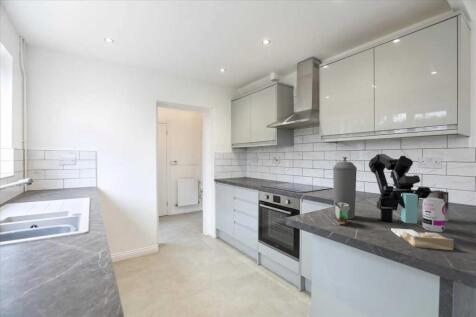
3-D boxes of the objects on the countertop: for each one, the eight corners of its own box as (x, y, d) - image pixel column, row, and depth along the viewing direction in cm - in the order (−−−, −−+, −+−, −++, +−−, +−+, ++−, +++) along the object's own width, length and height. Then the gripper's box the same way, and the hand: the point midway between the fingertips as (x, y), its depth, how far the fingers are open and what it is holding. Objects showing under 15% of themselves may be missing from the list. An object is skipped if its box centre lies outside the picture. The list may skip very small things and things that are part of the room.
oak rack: (402, 237, 101) (403, 228, 101) (437, 240, 98) (437, 231, 98) (414, 247, 91) (414, 236, 91) (453, 250, 88) (453, 239, 88)
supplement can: (444, 229, 112) (445, 198, 112) (444, 233, 106) (444, 201, 106) (423, 225, 118) (423, 196, 118) (421, 229, 112) (422, 198, 112)
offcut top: (424, 237, 98) (424, 232, 98) (435, 237, 97) (435, 233, 97) (435, 243, 91) (435, 238, 91) (446, 244, 90) (447, 239, 90)
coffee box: (438, 218, 132) (438, 190, 131) (448, 221, 125) (449, 192, 125) (422, 218, 131) (423, 190, 131) (432, 221, 125) (433, 192, 125)
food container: (352, 226, 116) (352, 207, 116) (339, 226, 118) (339, 206, 117) (346, 219, 128) (346, 202, 128) (334, 219, 130) (334, 201, 129)
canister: (335, 213, 143) (335, 156, 142) (358, 216, 136) (358, 156, 135) (329, 217, 133) (330, 157, 132) (354, 221, 125) (355, 157, 125)
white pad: (391, 230, 111) (391, 228, 111) (412, 231, 109) (412, 229, 109) (399, 237, 102) (399, 234, 102) (423, 238, 100) (423, 236, 100)
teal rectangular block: (401, 220, 106) (401, 192, 105) (412, 220, 105) (413, 193, 104) (405, 222, 102) (406, 194, 101) (417, 223, 101) (417, 195, 100)
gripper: (383, 168, 108) (392, 196, 98) (429, 169, 104) (444, 198, 94) (377, 182, 116) (385, 210, 106) (419, 184, 112) (432, 212, 102)
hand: (410, 207), depth 102 cm, fingers closed on teal rectangular block, 4 cm apart
